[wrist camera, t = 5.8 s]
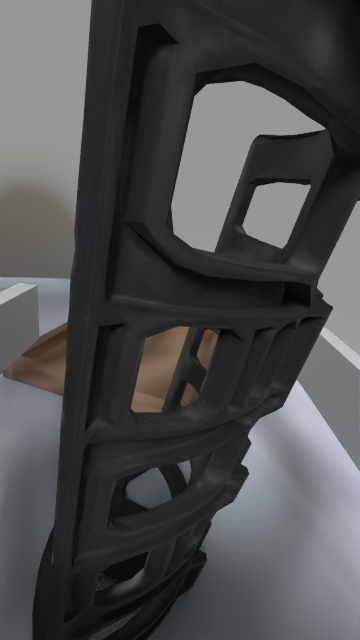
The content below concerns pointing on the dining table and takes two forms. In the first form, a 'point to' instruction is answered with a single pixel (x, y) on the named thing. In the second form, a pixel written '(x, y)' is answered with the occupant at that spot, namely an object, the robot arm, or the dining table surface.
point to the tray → (153, 377)
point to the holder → (185, 289)
